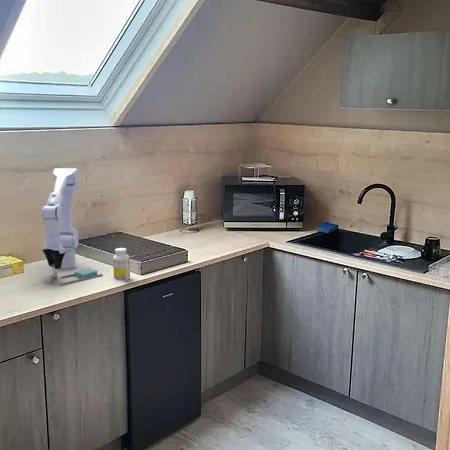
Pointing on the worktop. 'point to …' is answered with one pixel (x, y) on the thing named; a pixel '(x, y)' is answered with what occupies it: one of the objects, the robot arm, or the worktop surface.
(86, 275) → the cover
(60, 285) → the channel
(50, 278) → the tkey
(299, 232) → the worktop surface
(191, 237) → the worktop surface
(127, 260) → the supplement bottle
